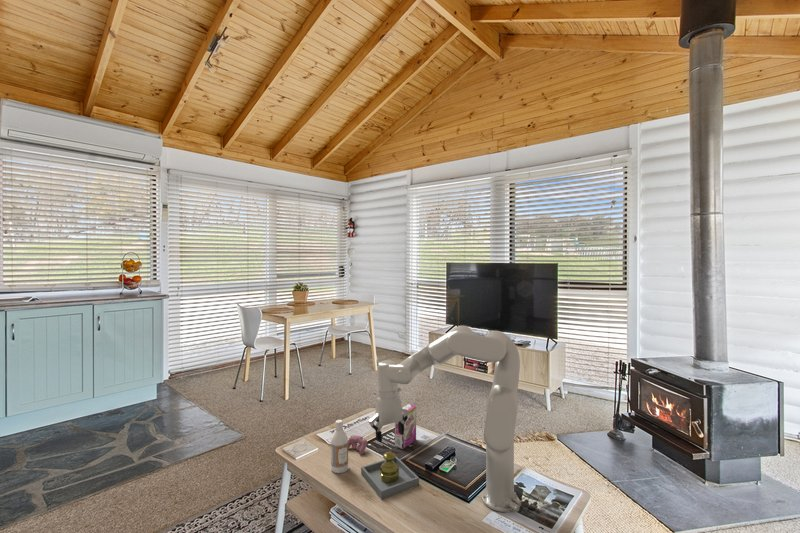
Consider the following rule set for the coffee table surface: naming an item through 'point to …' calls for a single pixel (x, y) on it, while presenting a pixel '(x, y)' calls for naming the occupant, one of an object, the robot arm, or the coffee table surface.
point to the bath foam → (339, 449)
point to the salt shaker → (389, 468)
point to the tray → (389, 489)
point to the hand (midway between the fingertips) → (390, 437)
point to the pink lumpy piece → (358, 439)
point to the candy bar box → (406, 429)
